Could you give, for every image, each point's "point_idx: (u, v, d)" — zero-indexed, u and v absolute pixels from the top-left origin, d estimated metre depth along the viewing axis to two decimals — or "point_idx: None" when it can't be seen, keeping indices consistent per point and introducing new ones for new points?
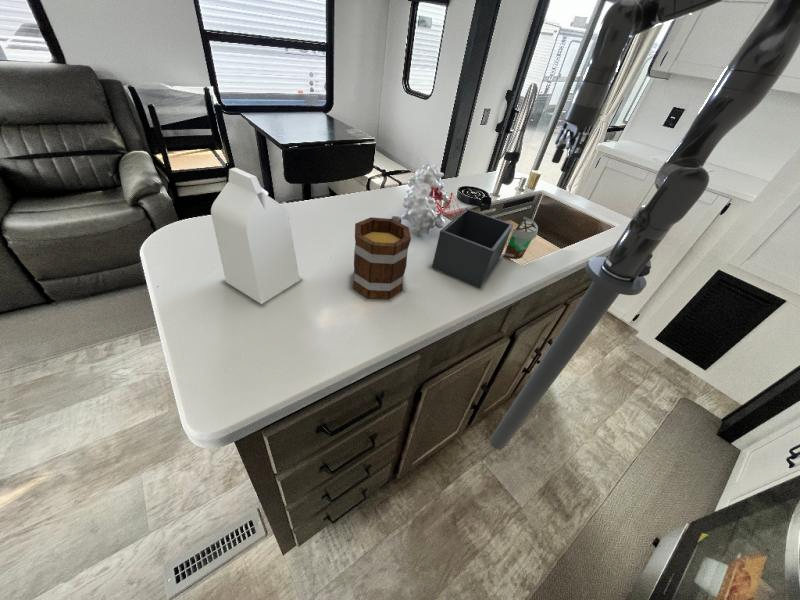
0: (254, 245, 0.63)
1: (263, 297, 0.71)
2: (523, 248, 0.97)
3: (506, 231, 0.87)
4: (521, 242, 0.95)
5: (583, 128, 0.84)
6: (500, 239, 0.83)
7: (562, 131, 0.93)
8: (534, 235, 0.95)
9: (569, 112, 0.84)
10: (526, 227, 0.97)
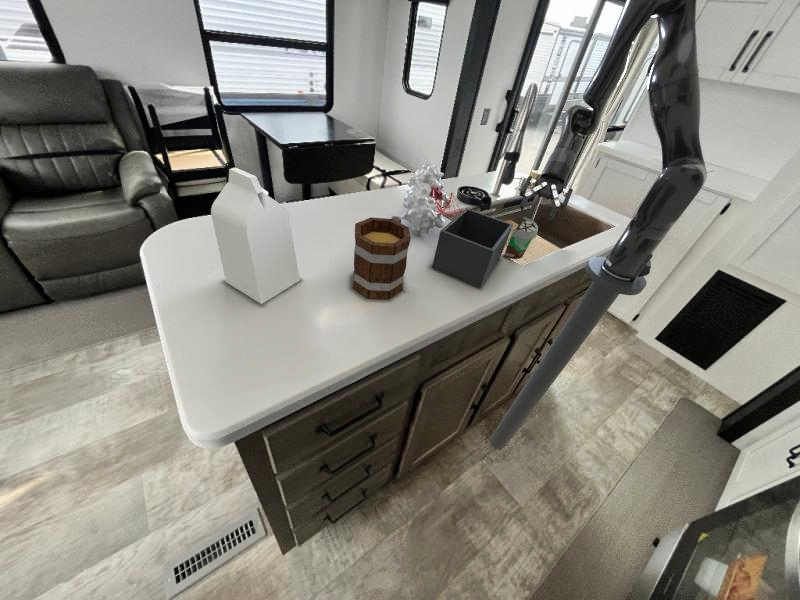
0: (254, 245, 0.63)
1: (263, 297, 0.71)
2: (523, 248, 0.97)
3: (506, 231, 0.87)
4: (521, 242, 0.95)
5: None
6: (500, 239, 0.83)
7: (565, 197, 0.97)
8: (534, 235, 0.95)
9: None
10: (526, 227, 0.97)
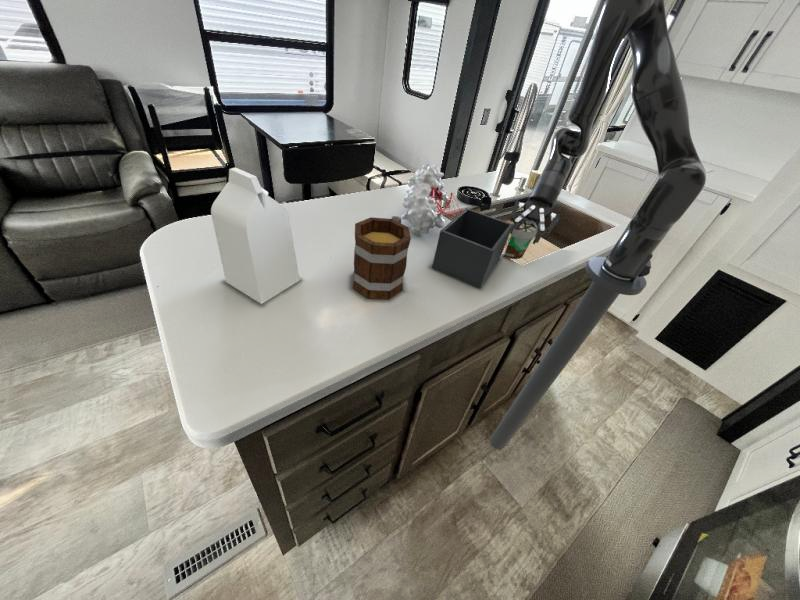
0: (254, 245, 0.63)
1: (263, 297, 0.71)
2: (523, 248, 0.97)
3: (506, 231, 0.87)
4: (521, 242, 0.95)
5: None
6: (500, 239, 0.83)
7: None
8: (534, 235, 0.95)
9: None
10: (526, 227, 0.97)
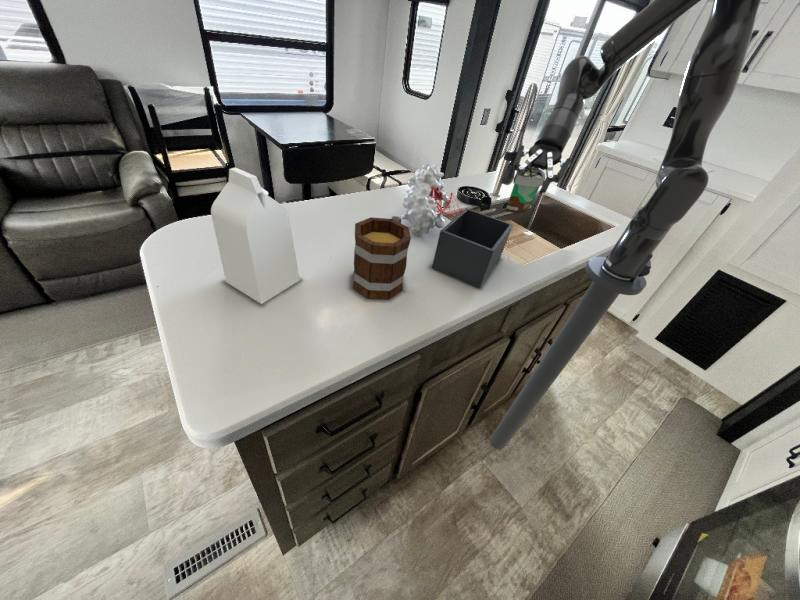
0: (254, 245, 0.63)
1: (263, 297, 0.71)
2: (528, 199, 0.85)
3: (506, 231, 0.87)
4: (525, 191, 0.83)
5: None
6: (500, 239, 0.83)
7: None
8: (541, 183, 0.82)
9: None
10: (532, 175, 0.84)
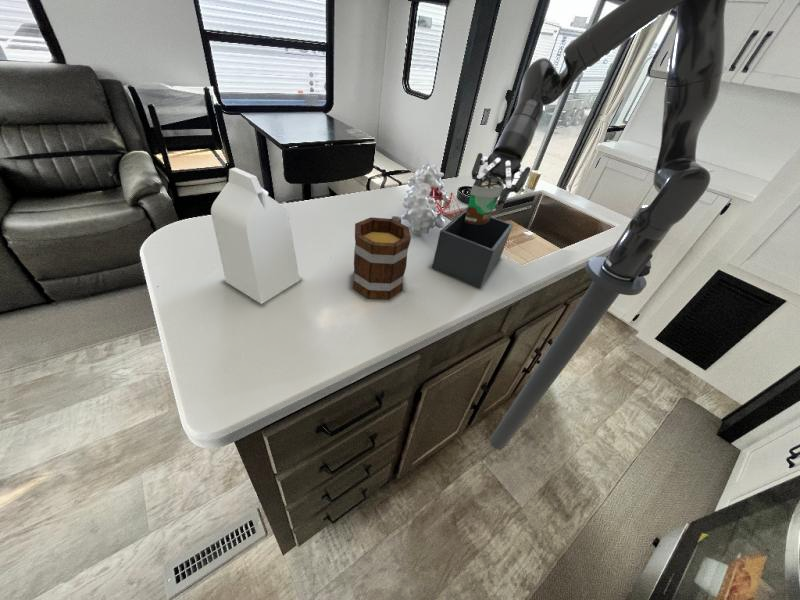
0: (254, 245, 0.63)
1: (263, 297, 0.71)
2: (487, 210, 0.81)
3: (506, 231, 0.87)
4: (483, 202, 0.78)
5: None
6: (500, 239, 0.83)
7: None
8: (499, 193, 0.78)
9: None
10: (490, 184, 0.80)
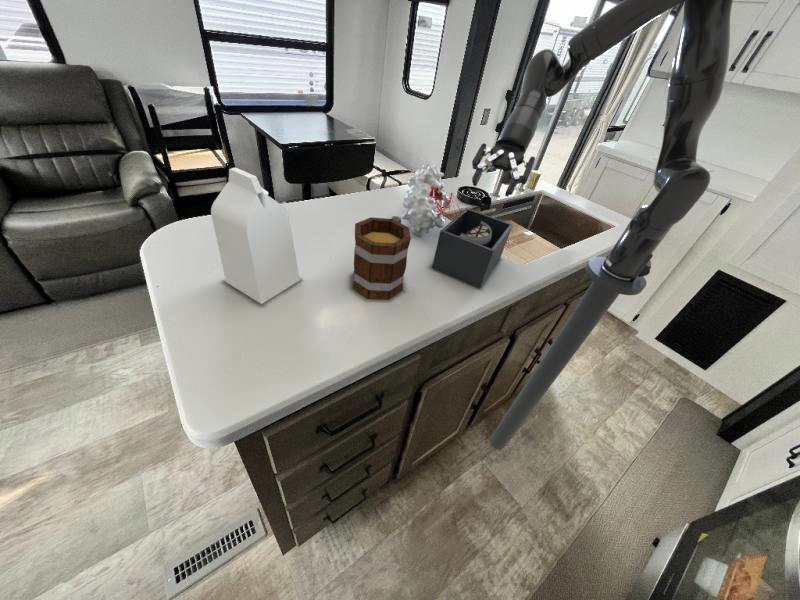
0: (254, 245, 0.63)
1: (263, 297, 0.71)
2: None
3: (506, 231, 0.87)
4: None
5: None
6: (500, 239, 0.83)
7: None
8: (485, 241, 0.86)
9: None
10: (479, 232, 0.89)
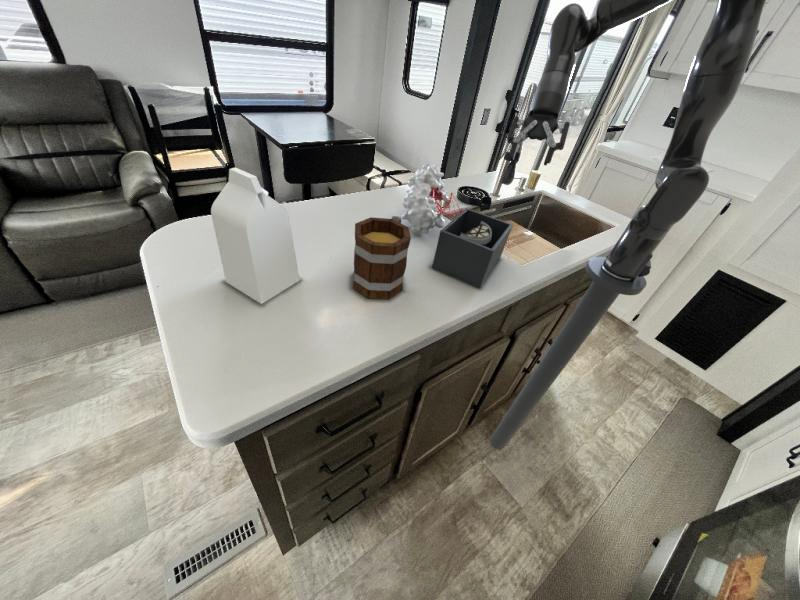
0: (254, 245, 0.63)
1: (263, 297, 0.71)
2: None
3: (506, 231, 0.87)
4: None
5: None
6: (500, 239, 0.83)
7: None
8: (485, 241, 0.86)
9: None
10: (479, 232, 0.89)
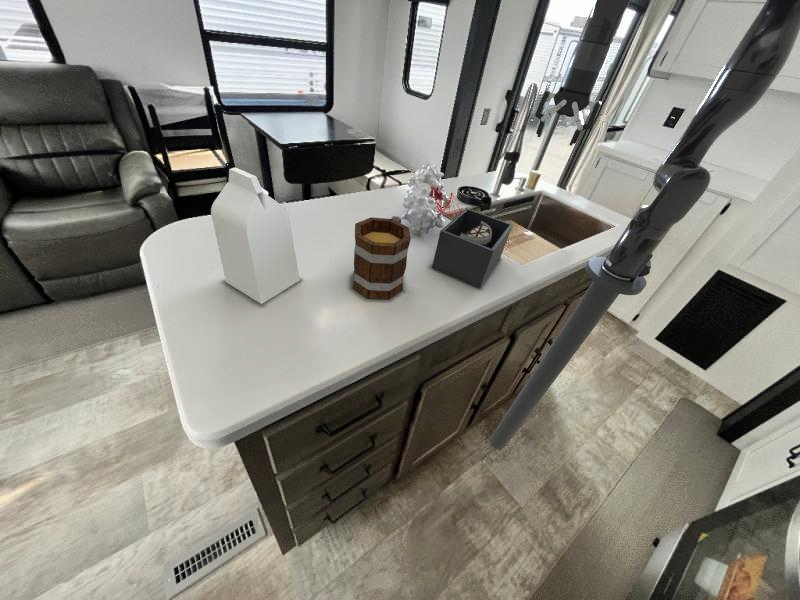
0: (254, 245, 0.63)
1: (263, 297, 0.71)
2: None
3: (506, 231, 0.87)
4: None
5: (558, 90, 0.80)
6: (500, 239, 0.83)
7: None
8: (485, 241, 0.86)
9: None
10: (479, 232, 0.89)
